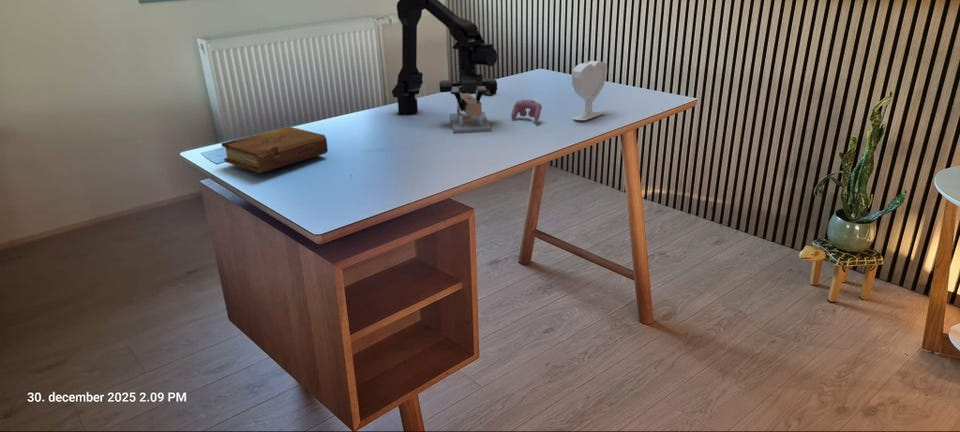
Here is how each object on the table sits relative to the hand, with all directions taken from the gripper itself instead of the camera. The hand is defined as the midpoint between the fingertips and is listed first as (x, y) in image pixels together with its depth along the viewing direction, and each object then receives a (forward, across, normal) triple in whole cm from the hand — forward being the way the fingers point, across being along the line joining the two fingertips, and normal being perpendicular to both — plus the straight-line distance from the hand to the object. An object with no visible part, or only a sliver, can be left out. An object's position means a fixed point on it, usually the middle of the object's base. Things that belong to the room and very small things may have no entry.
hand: (469, 110), depth 223 cm
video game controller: (+4, +19, 0) cm, 20 cm away
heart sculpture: (+4, +41, +2) cm, 41 cm away
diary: (+5, -59, -25) cm, 64 cm away
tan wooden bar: (0, 0, 0) cm, 0 cm away
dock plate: (+4, 0, 0) cm, 4 cm away
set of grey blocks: (+4, 0, 0) cm, 4 cm away
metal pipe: (+7, +10, +40) cm, 41 cm away
